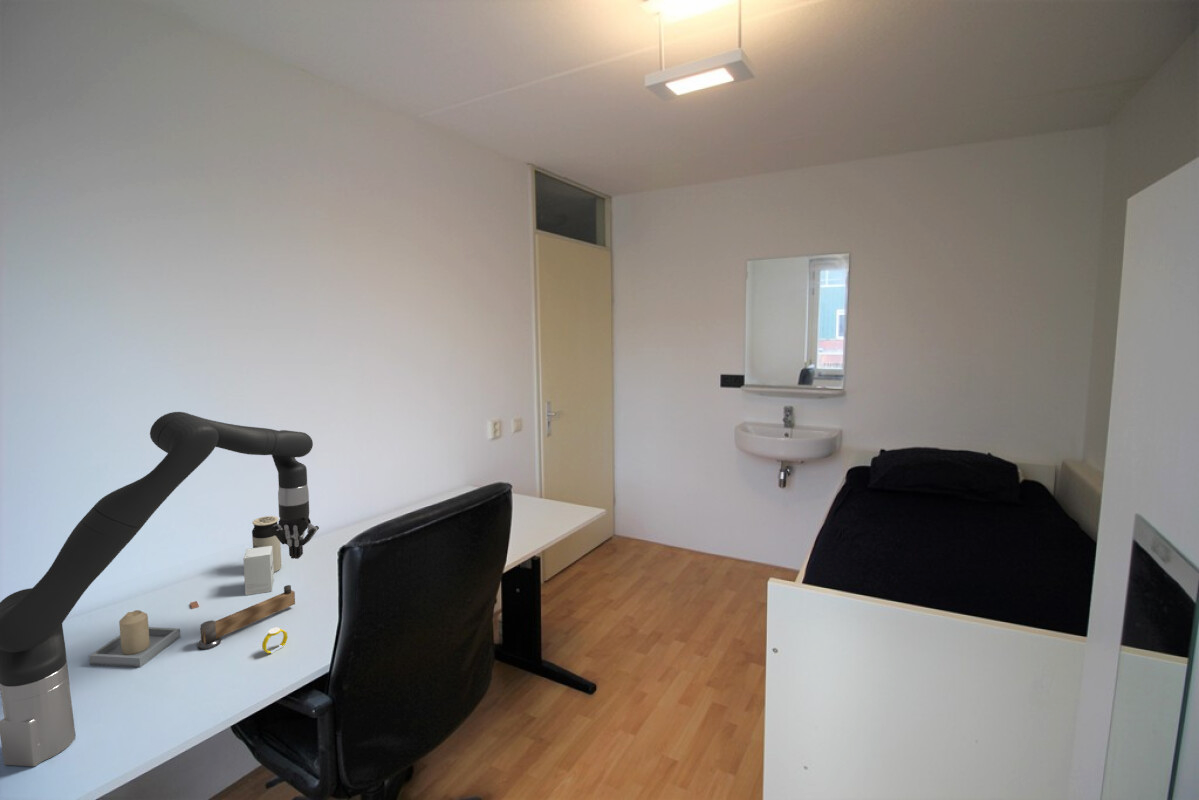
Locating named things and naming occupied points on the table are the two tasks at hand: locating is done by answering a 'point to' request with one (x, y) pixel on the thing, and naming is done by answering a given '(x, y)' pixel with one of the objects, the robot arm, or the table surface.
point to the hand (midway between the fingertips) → (296, 557)
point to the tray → (115, 657)
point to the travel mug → (267, 538)
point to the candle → (134, 632)
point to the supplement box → (258, 570)
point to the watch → (271, 633)
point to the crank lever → (246, 616)
